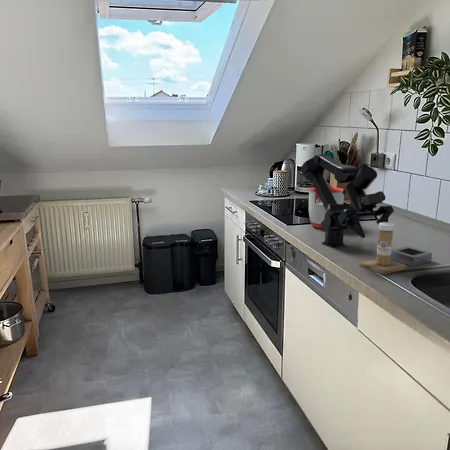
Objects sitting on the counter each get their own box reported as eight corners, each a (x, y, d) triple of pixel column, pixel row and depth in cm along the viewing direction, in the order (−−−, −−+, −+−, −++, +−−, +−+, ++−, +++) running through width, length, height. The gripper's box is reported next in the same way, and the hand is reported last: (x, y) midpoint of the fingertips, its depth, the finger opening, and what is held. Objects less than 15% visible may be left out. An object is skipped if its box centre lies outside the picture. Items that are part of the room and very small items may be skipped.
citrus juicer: (301, 229, 189) (302, 184, 184) (313, 221, 204) (314, 179, 199) (337, 233, 182) (339, 186, 177) (346, 224, 197) (348, 181, 192)
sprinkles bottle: (376, 265, 137) (378, 224, 134) (375, 260, 141) (378, 221, 138) (391, 266, 136) (394, 225, 133) (390, 262, 140) (393, 222, 137)
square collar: (389, 258, 147) (390, 250, 146) (407, 254, 152) (407, 246, 151) (413, 266, 139) (414, 257, 138) (431, 261, 144) (432, 252, 143)
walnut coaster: (359, 266, 140) (359, 262, 140) (380, 260, 145) (380, 257, 145) (384, 274, 132) (384, 271, 132) (405, 269, 137) (405, 265, 137)
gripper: (345, 185, 138) (363, 226, 131) (392, 181, 144) (413, 220, 136) (330, 204, 147) (347, 243, 140) (376, 200, 153) (394, 238, 146)
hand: (376, 236), depth 140 cm, fingers open, 9 cm apart
